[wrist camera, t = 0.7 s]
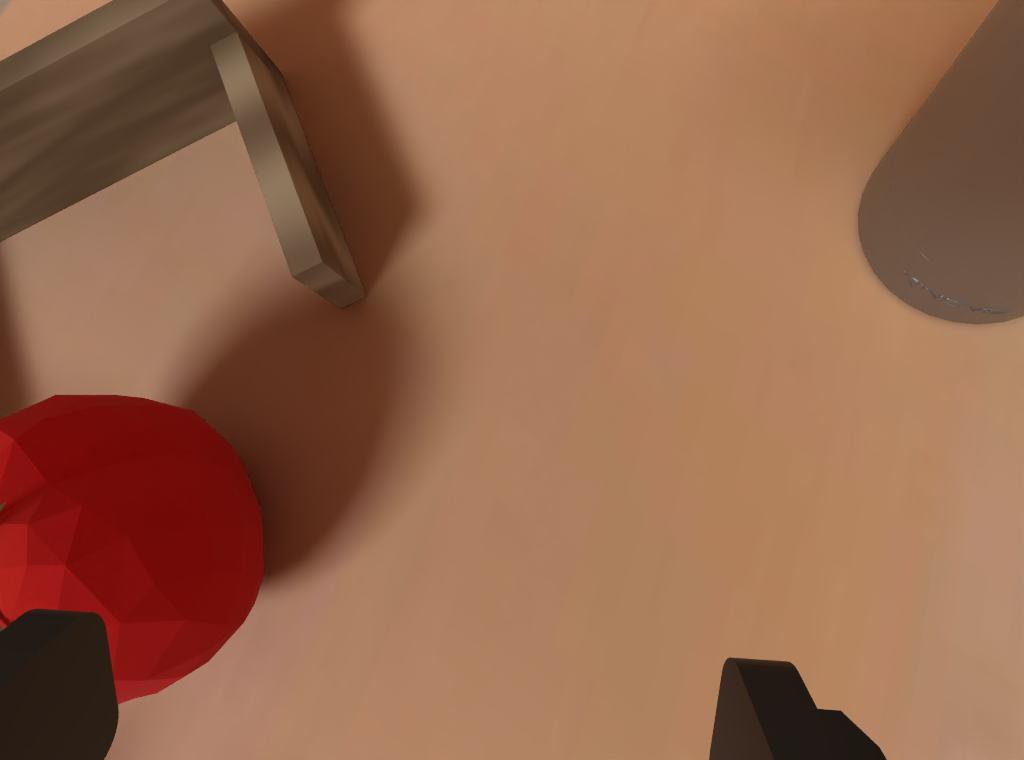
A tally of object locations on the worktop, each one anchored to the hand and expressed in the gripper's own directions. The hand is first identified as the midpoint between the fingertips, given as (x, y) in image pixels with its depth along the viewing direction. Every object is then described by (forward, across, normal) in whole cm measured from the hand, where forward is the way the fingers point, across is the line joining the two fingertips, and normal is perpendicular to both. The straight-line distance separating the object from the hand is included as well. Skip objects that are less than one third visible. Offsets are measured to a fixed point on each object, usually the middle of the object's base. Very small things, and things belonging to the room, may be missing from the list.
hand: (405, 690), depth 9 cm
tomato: (+22, +15, +11) cm, 29 cm away
